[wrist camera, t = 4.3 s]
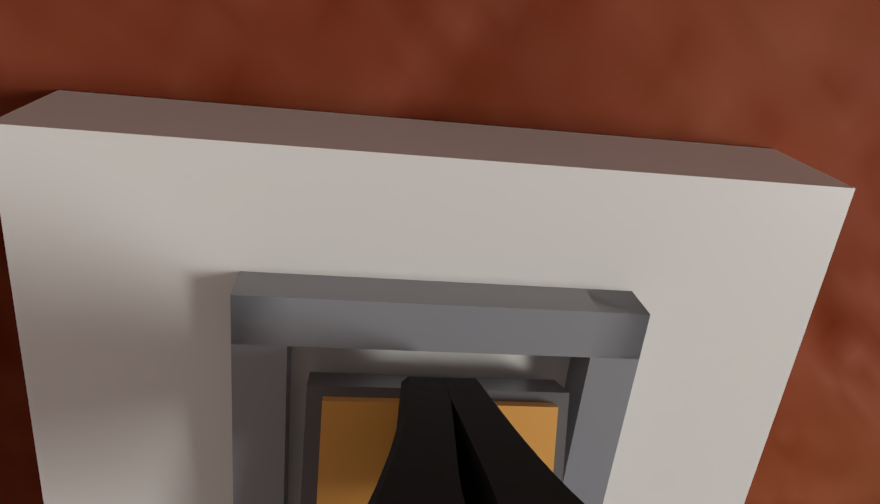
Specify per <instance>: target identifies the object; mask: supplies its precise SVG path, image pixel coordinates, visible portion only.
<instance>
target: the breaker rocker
mask: <svg viewBox="0 0 880 504" xmlns="http://www.w3.org/2000/svg"><path fill="white" fill-rule="evenodd" d="M408 376H413V377H448V378H476V379H477V380H478V381H479V382H480V384H481V385H482V386H483V387H484V389H485V390H486V391H487V393H488V394H489V395H490V397H491V398H492V399H493V401H494V402H495V403H496V405H497V406H498V407H499V409H500V410H501V411H502V413H503V414H504V415H505V416H506V418H507V419H508V420H509V422H510V423H511V424H512V425H513V427H514V428H515V429H516V430H517V432H518V433H519V434H520V435H521V436H522V438H523V439H524V440H525V441H526V442H527V444H528V445H529V446H530V447H531V448H532V449H533V451H534V452H535V453H536V454H537V455H538V456H539V458H540V459H541V460H542V461H543V462H544V463H545V464H546V465H547V466H548V468H549V469H550V470H551V471H552V472H553V473H554V474H555V475H556V476H557V477H558V478H559V479H560V480H561V481H562V482H563V469H564V456H565V443H566V431H567V418H568V405H569V392H568V391H567V390H565V389H564V388H563V387H562V386H561V385H560V384H559V383H557V382H556V381H555V380H545V379H514V378H483V377H452V376H421V375H390V374H359V373H328V372H310V374H309V378H308V382H307V392H306V411H305V429H304V448H303V467H302V485H301V504H368V502H369V500H370V498H371V496H372V494H373V491H374V489H375V487H376V485H377V482H378V480H379V477H380V475H381V472H382V470H383V467H384V465H385V462H386V460H387V457H388V455H389V452H390V449H391V446H392V443H393V439H394V436H395V432H396V428H397V419H398V409H399V400H400V390H401V382H402V381H403V380H404V379H406V378H407V377H408Z"/></svg>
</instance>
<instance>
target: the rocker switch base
mask: <svg viewBox="0 0 880 504" xmlns="http://www.w3.org/2000/svg"><path fill="white" fill-rule="evenodd" d="M854 191H855V188H854V187H851V186H849V185H847V184H845V183H843V182H841V181H839V180H837V179H835V178H833V177H831V176H829V175H827V174H825V173H823V172H821V171H818V170H816V169H814V168H812V167H810V166H808V165H806V164H804V163H802V162H800V161H798V160H796V159H794V158H792V157H790V156H788V155H785V154H783V153H781V152H779V151H777V150H775V149H770V148H758V147H745V146H733V145H721V144H709V143H697V142H685V141H672V140H660V139H648V138H636V137H624V136H612V135H599V134H587V133H575V132H563V131H551V130H538V129H526V128H514V127H502V126H490V125H478V124H465V123H453V122H441V121H429V120H417V119H405V118H392V117H380V116H368V115H356V114H344V113H332V112H319V111H307V110H295V109H283V108H271V107H259V106H246V105H234V104H222V103H210V102H198V101H186V100H173V99H161V98H149V97H137V96H125V95H113V94H100V93H88V92H76V91H64V90H57V91H55V92H53V93H51V94H49V95H46V96H44V97H42V98H40V99H38V100H36V101H33V102H31V103H29V104H27V105H25V106H23V107H20V108H18V109H16V110H14V111H12V112H10V113H7V114H5V115H3V116H1V117H0V216H1V223H2V229H3V236H4V243H5V249H6V256H7V263H8V269H9V276H10V283H11V289H12V296H13V303H14V309H15V316H16V322H17V329H18V336H19V342H20V349H21V356H22V362H23V369H24V376H25V382H26V389H27V396H28V402H29V409H30V416H31V422H32V429H33V435H34V442H35V449H36V455H37V462H38V469H39V475H40V482H41V489H42V495H43V502H44V504H301V485H302V467H303V448H304V429H305V411H306V392H307V382H308V378H309V374H310V372H328V373H359V374H390V375H421V376H452V377H483V378H514V379H545V380H555V381H556V382H557V383H559V384H560V385H561V386H562V387H563V388H564V389H565V390H567V391H568V392H569V405H568V418H567V431H566V443H565V456H564V469H563V483H564V484H565V485H566V486H567V487H568V488H569V489H570V490H571V491H572V492H573V493H574V494H575V495H576V496H577V497H578V498H579V499H580V500H581V501H582V502H583V503H584V504H744V502H745V499H746V497H747V494H748V491H749V488H750V485H751V482H752V480H753V477H754V474H755V471H756V468H757V465H758V463H759V460H760V457H761V454H762V451H763V448H764V446H765V443H766V440H767V437H768V434H769V432H770V429H771V426H772V423H773V420H774V417H775V415H776V412H777V409H778V406H779V403H780V400H781V398H782V395H783V392H784V389H785V386H786V383H787V381H788V378H789V375H790V372H791V369H792V366H793V364H794V361H795V358H796V355H797V352H798V349H799V347H800V344H801V341H802V338H803V335H804V332H805V330H806V327H807V324H808V321H809V318H810V316H811V313H812V310H813V307H814V304H815V301H816V299H817V296H818V293H819V290H820V287H821V284H822V282H823V279H824V276H825V273H826V270H827V267H828V265H829V262H830V259H831V256H832V253H833V250H834V248H835V245H836V242H837V239H838V236H839V233H840V231H841V228H842V225H843V222H844V219H845V216H846V214H847V211H848V208H849V205H850V202H851V200H852V197H853V194H854Z"/></svg>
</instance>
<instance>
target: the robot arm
mask: <svg viewBox="0 0 880 504" xmlns="http://www.w3.org/2000/svg"><path fill="white" fill-rule="evenodd" d="M368 504H584V503H583V502H582V501H581V500H580V499H579V498H578V497H577V496H576V495H575V494H574V493H573V492H572V491H571V490H570V489H569V488H568V487H567V486H566V485H565V484H564V483H563V482H562V481H561V480H560V479H559V478H558V477H557V476H556V475H555V474H554V473H553V472H552V471H551V470H550V469H549V468H548V466H547V465H546V464H545V463H544V462H543V461H542V460H541V459H540V458H539V456H538V455H537V454H536V453H535V452H534V451H533V449H532V448H531V447H530V446H529V445H528V444H527V442H526V441H525V440H524V439H523V438H522V436H521V435H520V434H519V433H518V432H517V430H516V429H515V428H514V427H513V425H512V424H511V423H510V422H509V420H508V419H507V418H506V416H505V415H504V414H503V413H502V411H501V410H500V409H499V407H498V406H497V405H496V403H495V402H494V401H493V399H492V398H491V397H490V395H489V394H488V393H487V391H486V390H485V389H484V387H483V386H482V385H481V384H480V382H479V381H478V380H477V379H476V378H448V377H413V376H408V377H407V378H406V379H404V380H403V381H402V382H401V390H400V400H399V409H398V419H397V428H396V432H395V436H394V439H393V443H392V446H391V449H390V452H389V455H388V457H387V460H386V462H385V465H384V467H383V470H382V472H381V475H380V477H379V480H378V482H377V485H376V487H375V489H374V491H373V494H372V496H371V498H370V500H369V502H368Z"/></svg>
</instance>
